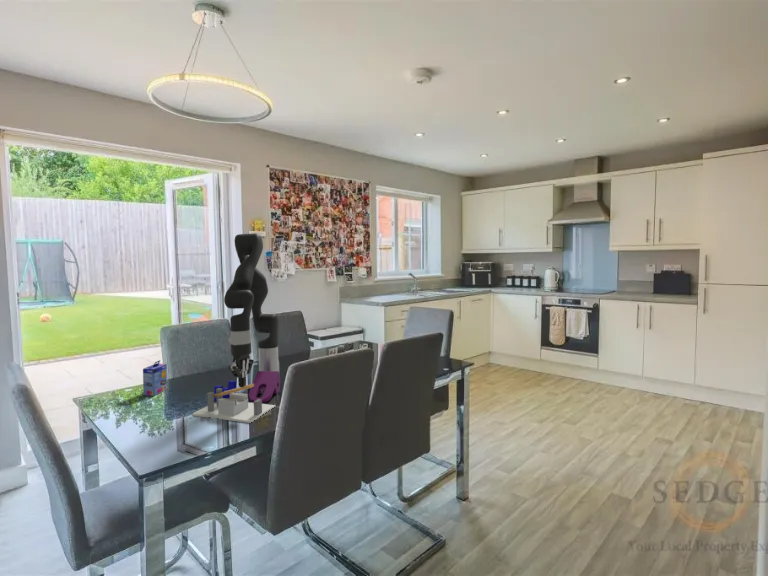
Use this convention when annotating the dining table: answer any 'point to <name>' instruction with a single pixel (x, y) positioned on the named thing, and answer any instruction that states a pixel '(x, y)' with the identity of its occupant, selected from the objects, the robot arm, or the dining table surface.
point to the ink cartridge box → (154, 379)
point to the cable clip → (226, 389)
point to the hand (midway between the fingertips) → (242, 386)
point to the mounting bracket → (265, 385)
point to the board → (240, 416)
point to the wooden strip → (233, 390)
